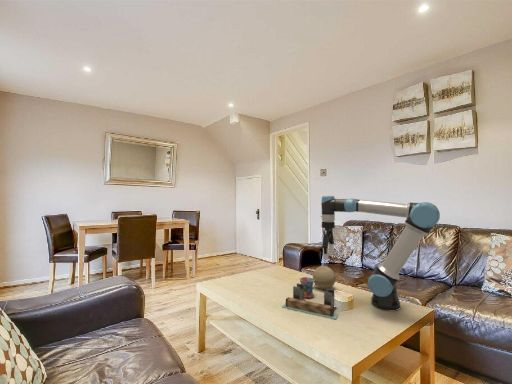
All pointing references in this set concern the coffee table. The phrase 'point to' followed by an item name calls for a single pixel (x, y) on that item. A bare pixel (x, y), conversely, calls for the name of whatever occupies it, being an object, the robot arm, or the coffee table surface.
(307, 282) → the mug
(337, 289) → the coffee table surface
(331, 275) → the decorative ball
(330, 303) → the post
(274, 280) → the coffee table surface
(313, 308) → the rail
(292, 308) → the mat
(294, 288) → the post
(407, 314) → the coffee table surface
